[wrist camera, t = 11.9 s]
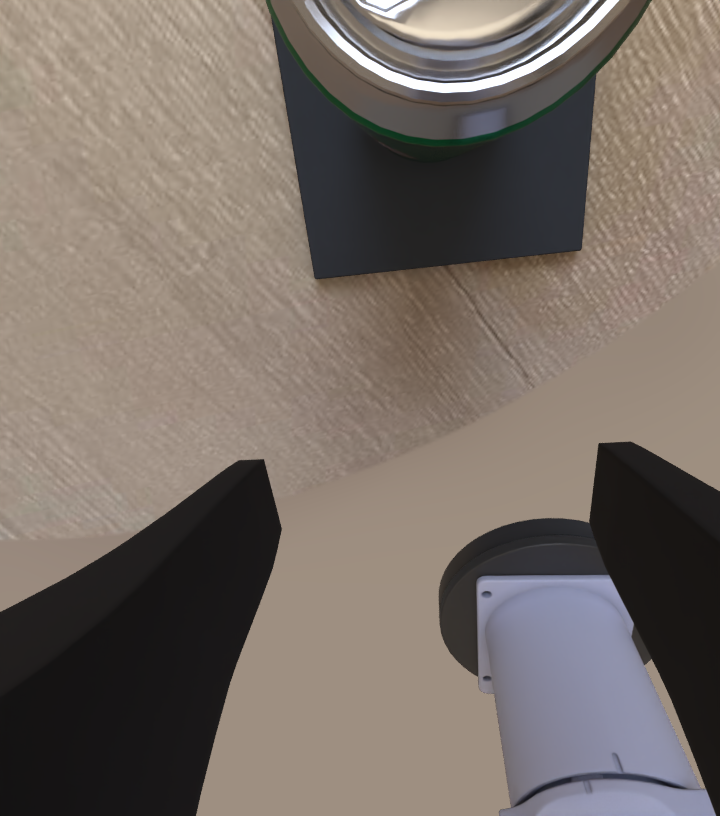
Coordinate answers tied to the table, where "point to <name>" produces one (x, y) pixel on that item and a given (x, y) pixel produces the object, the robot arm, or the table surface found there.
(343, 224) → the mat
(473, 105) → the soda can
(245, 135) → the table surface
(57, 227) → the table surface
